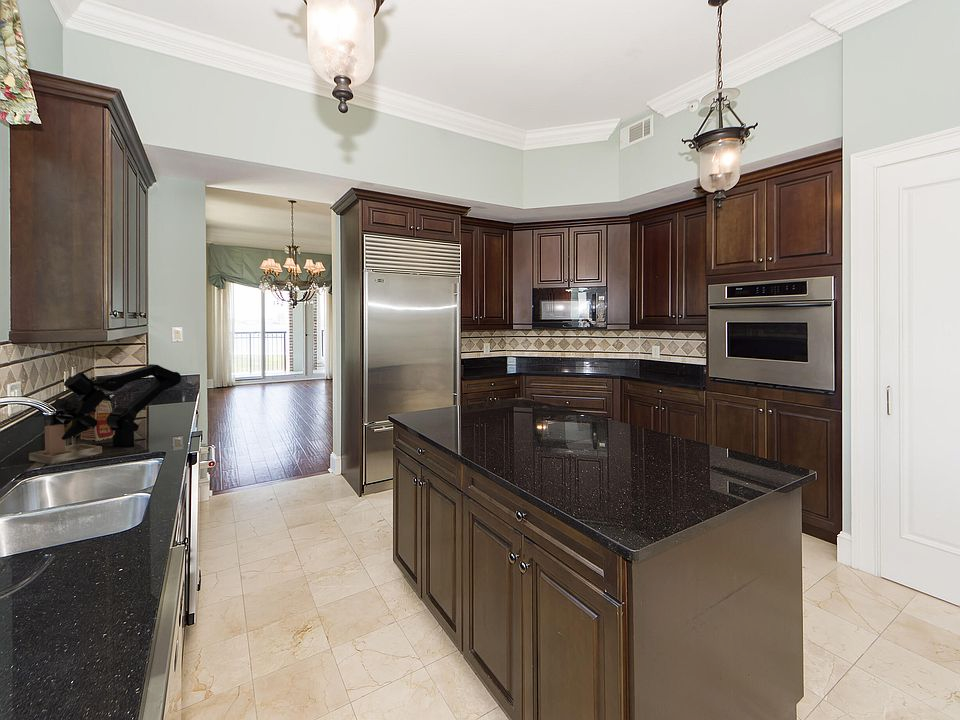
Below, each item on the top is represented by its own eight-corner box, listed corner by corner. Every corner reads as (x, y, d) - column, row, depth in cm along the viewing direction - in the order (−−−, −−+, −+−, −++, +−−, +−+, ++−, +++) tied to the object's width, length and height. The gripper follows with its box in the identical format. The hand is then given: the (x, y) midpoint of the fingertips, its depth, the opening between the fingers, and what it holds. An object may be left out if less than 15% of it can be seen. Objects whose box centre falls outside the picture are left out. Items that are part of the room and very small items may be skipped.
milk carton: (97, 440, 196) (96, 393, 195) (79, 439, 198) (78, 392, 197) (117, 436, 205) (117, 391, 204) (100, 434, 207) (99, 390, 205)
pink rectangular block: (60, 456, 169) (59, 424, 168) (65, 457, 168) (64, 424, 167) (45, 460, 165) (44, 426, 164) (50, 460, 164) (49, 426, 163)
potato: (83, 436, 202) (82, 418, 202) (59, 439, 197) (59, 420, 197) (82, 434, 207) (81, 416, 207) (59, 436, 202) (58, 418, 202)
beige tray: (80, 451, 179) (80, 443, 179) (102, 454, 175) (101, 446, 175) (29, 461, 164) (28, 453, 164) (51, 465, 160) (51, 457, 160)
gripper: (53, 388, 173) (16, 422, 163) (87, 391, 167) (51, 427, 157) (78, 406, 181) (44, 440, 171) (111, 410, 175) (78, 445, 165)
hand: (54, 438), depth 166 cm, fingers open, 9 cm apart
